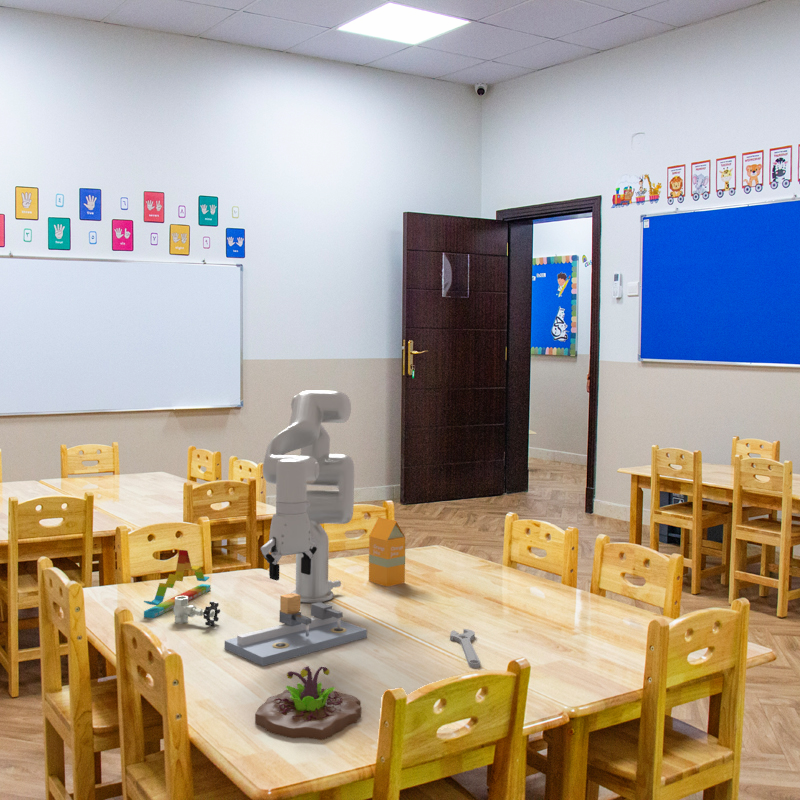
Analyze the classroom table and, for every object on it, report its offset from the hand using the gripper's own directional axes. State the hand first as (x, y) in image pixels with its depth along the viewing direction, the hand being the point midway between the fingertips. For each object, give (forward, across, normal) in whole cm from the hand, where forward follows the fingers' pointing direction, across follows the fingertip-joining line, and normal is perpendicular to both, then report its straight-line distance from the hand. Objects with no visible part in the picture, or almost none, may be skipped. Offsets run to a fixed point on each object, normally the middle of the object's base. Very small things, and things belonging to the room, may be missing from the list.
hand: (290, 576), depth 226 cm
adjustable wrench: (+17, -29, +33) cm, 47 cm away
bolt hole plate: (+16, -1, +2) cm, 16 cm away
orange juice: (+15, -58, -27) cm, 65 cm away
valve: (+16, +10, -28) cm, 34 cm away
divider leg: (+14, -1, +2) cm, 14 cm away
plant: (+18, +25, +40) cm, 51 cm away
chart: (+16, +4, -48) cm, 50 cm away
